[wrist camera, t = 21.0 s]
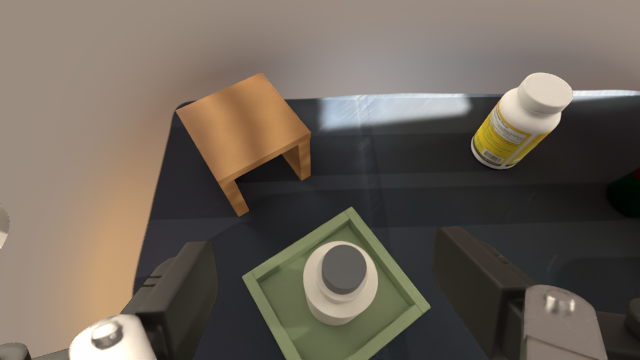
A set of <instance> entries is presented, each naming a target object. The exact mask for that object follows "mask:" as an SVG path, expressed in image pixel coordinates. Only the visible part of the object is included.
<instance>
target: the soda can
mask: <svg viewBox="0 0 640 360" xmlns="http://www.w3.org/2000/svg"><path fill="white" fill-rule="evenodd" d="M609 195H610V198H611V201H612V202H613V204H614V205H615V206H616V207H617V208H618V209H619V210H621V211H622V212H624V213H626V214H628V215H631V216H635V217H640V167H639V168H637V169H636V170H634V171H632V172H630V173H628V174H627V175H625V176H623V177H621V178H619V179H617V180H616V181H614V182H613V183H612V184H611V185H610V189H609Z"/></svg>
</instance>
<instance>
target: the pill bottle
mask: <svg viewBox="0 0 640 360" xmlns="http://www.w3.org/2000/svg"><path fill="white" fill-rule="evenodd" d="M572 98H573V92H572V89H571V88H570V87H569V85H568V84H567V83H566V82H565V81H563V80H562V79H560V78H559V77H557V76H554V75H551V74H547V73H534V74H531V75H529V76H528V77H527V78H526V79H525V80H524V81H523V82H522V83H521V84H520V86H519V87H518V88H515V89H512V90H510V91H509V92H507V93H506V94H505V95H504V96H503V97H502V98H501V99H500V101H499V102H498V104H497V105H496V106H495V108H494V109H493V110H492V112H491V113H490V114H489V116H488V117H487V119H486V120H485V121H484V123H483V124H482V125H481V127H480V128H479V130H478V131H477V132H476V134H475V135H474V137H473V139H472V142H471V148H472V151H473V154H474V155H475V157H476V158H477V159H478V160H479V161H480V162H481V163H483V164H484V165H486V166H489V167H491V168H495V169H506V168H510V167H512V166H514V165H515V164H516V163H518V162H519V161H520V160H521V159H522V158H523V157H524V156H525V155H526V154H527V153H528V152H529V151H531V150H532V149H533V148H534V147H535V146H536V145H537V144H538V143H539V142H540V141H541V140H542V139H543V138H544V137H546V136H547V135H548V134H549V133H550V132H551V131H552V130H553V129H554V128H555V127H556V126H557V125H558V123H559V121H560V118H561V111H562V110H563V109H564V108H565V107H566V106H567V105H568V104H569V103H570V102H571V100H572Z"/></svg>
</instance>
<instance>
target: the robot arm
mask: <svg viewBox="0 0 640 360" xmlns="http://www.w3.org/2000/svg"><path fill="white" fill-rule="evenodd" d="M433 275H434V278H435V281H436V283H437V285H438V286H439V288H440V289H441V291H442V292H443V294H444V295H445V296H446V298H447V299H448V301H449V302H450V303H451V305H452V306H453V308H454V309H455V311H456V312H457V313H458V315H459V316H460V318H461V319H462V321H463V322H464V323H465V325H466V326H467V328H468V329H469V331H470V332H471V333H472V335H473V336H474V338H475V339H476V341H477V342H478V343H479V345H480V346H481V348H482V349H483V351H484V352H485V353H486V355H487V356H488V358H489V359H490V360H640V298H636V299H633V300H631V301H630V303H629V306H628V310H627V313H626V315H623V314H616V313H609V312H602V311H595V310H594V309H593V307H592V306H591V305H590V304H589V303H588V302H587V301H586V300H584V299H583V298H581V297H580V296H578V295H576V294H574V293H572V292H570V291H567V290H564V289H561V288H558V287H554V286H548V285H538V284H537V283H536V282H534V281H533V280H532V279H531V278H530V277H528V276H527V275H526V274H525V273H524V272H522V271H521V270H520V269H519V268H517V267H516V266H515V265H514V264H513V263H512V264H511V263H510V261H509V260H508V259H507V258H505V257H504V256H502V254H500V253H499V252H498V251H497V250H496V249H494V248H493V247H492V246H490V245H488V244H486V243H484V242H482V241H480V240H478V239H474V238H473V237H472V236H471V235H470V234H469V233H467V232H466V231H465V230H464V229H463V228H461V227H443V228H438V229H437V230H436V234H435V244H434V257H433ZM217 293H218V278H217V271H216V265H215V258H214V251H213V246H212V243H211V242H210V241H200V242H187V243H186V244H185V245H184V247H183V248H182V250H181V251H180V252H179V254H178V255H177V256H176V257H171V258H169V259H168V260H166V261H165V262H163V263H162V264H160V265H159V266H158V267H157V268H156V269H155V270H154V272H153V273H152V274H151V275H150V278H149V279H147V280H146V282H145V283H144V284H143V287H141V288H140V289H139V290H138V291H137V293H136V294H135V295H134V296H133V298H132V299H131V300H130V301H129V303H128V304H127V305H126V306H125V308H124V309H123V310H122V311H121V313H120V314H119V315H116V316H112V317H108V318H105V319H103V320H100V321H98V322H96V323H95V324H93V325H91V326H90V327H88V328H86V329H85V330H84V331H82V332H81V333H80V334H79V335H78V336H77V337H76V338H75V339H74V340H73V342H72V344H71V346H70V348H68V349H64V350H61V351H58V352H54V353H50V354H47V355H43V356H40V357H36V358H33V359H31V356H30V354H29V351H28V349H27V347H26V346H25V345H24V344H21V343H8V344H3V345H0V360H192V358H193V355H194V353H195V350H196V348H197V345H198V343H199V340H200V338H201V335H202V333H203V330H204V328H205V325H206V323H207V320H208V318H209V315H210V313H211V310H212V308H213V305H214V303H215V300H216V297H217Z"/></svg>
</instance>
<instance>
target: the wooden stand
mask: <svg viewBox="0 0 640 360" xmlns="http://www.w3.org/2000/svg"><path fill="white" fill-rule="evenodd" d="M176 112H177V114H178V116H179V117H180V119H181V121H182V122H183V124H184V126H185V127H186V129H187V131H188V133H189V134H190V136H191V138H192V139H193V141H194V143H195V145H196V146H197V148H198V150H199V151H200V153H201V155H202V156H203V158H204V160H205V162H206V163H207V165H208V167H209V168H210V170H211V172H212V173H213V175H214V177H215V179H216V180H217V182H218V184H219V185H220V187H221V189H222V190H223V192H224V194H225V195H226V197H227V199H228V200H229V202H230V204H231V205H232V207H233V209H234V210H235V212H236V214H237V215H238V217H240V216H241V215H243V214H245V213H247V212H248V211H249V209H248V207H247V205H246V203H245V201H244V199H243V197H242V195H241V193H240V191H239V189H238V187H237V185H236V183H235V181H234V179H236V178H237V177H239V176H241V175H243V174H245V173H247V172H249V171H250V170H252V169H254V168H256V167H258V166H260V165H262V164H263V163H265V162H267V161H269V160H271V159H273V158H275V157H276V156H278V155H280V154H282V155H283V156H284V158H285V159H286V160H287V162H288V163H289V165H290V166H291V167H292V169H293V170H294V171H295V173H296V174H297V175H298V177H299V178H300V179H301V181H302V180H304V179H305V178H307V177H309V176H311V168H310V138H311V136H310V131H309V130H308V129H307V127H306V126H305V125H304V124H303V123H302V121H301V120H300V119H299V118H298V117H297V115H296V114H295V113H294V112H293V110H292V109H291V108H290V107H289V106H288V104H287V103H286V102H285V101H284V99H283V98H282V97H281V96H280V95H279V93H278V92H277V91H276V90H275V88H274V87H273V86H272V85H271V84H270V82H269V81H268V80H267V79H266V78H265V77H264V75H263V74H262V73H259V74H257V75H255V76H253V77H250V78H248V79H246V80H243V81H241V82H239V83H237V84H234V85H232V86H230V87H228V88H225V89H223V90H221V91H219V92H217V93H214V94H212V95H210V96H207V97H205V98H203V99H201V100H198V101H196V102H194V103H192V104H189V105H187V106H185V107H183V108H180V109H178V110H176Z"/></svg>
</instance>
